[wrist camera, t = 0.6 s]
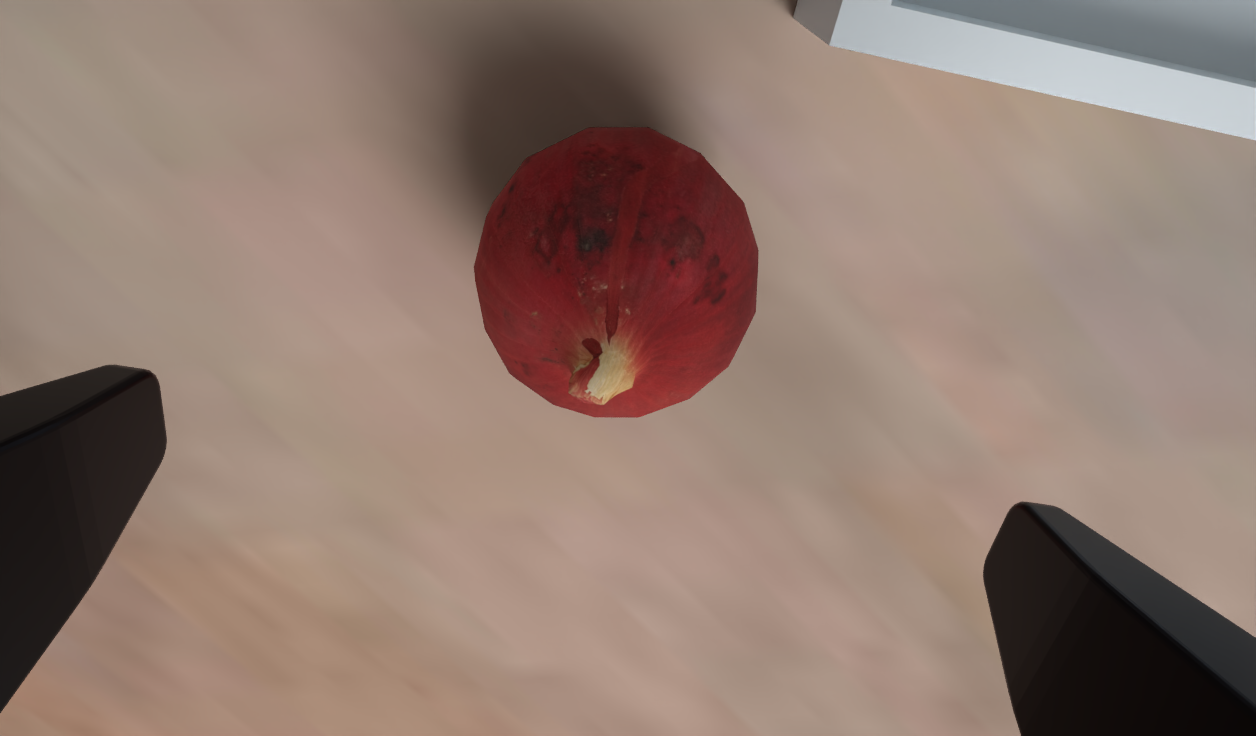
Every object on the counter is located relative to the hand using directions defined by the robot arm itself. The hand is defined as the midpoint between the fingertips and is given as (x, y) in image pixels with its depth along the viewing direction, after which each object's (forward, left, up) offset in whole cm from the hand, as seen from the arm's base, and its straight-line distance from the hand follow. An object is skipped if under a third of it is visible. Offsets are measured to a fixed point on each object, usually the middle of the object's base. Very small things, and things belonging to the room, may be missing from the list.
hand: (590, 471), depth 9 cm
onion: (0, +1, -13) cm, 13 cm away
